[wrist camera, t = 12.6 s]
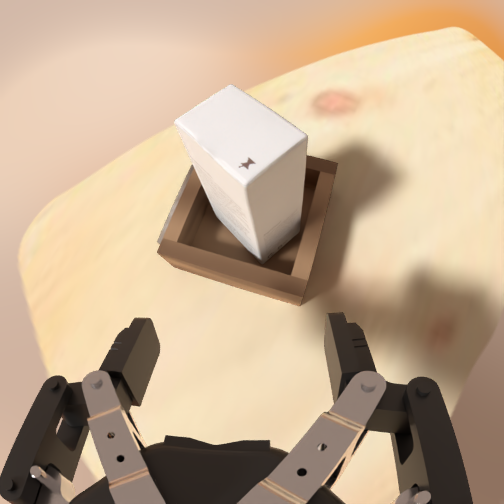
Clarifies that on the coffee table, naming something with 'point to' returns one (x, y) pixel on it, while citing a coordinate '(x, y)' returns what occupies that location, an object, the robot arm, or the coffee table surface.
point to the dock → (234, 252)
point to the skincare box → (248, 167)
